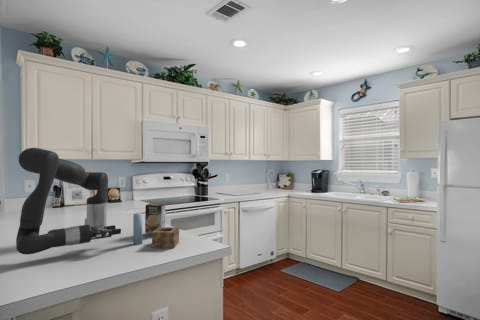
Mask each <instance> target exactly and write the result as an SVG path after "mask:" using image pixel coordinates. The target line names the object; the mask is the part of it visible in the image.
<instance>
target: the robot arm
mask: <svg viewBox="0 0 480 320" xmlns="http://www.w3.org/2000/svg"><path fill="white" fill-rule="evenodd" d="M18 165H19V166H20V167H21V168H22V169H23V170H25V171H26V172H29V173H33V174H37V175H39V176H38V177H39V178H38V183H37V184H36V187H34V190H33V191H32V192H31V193H30V194H29V195H28V196H27V198H26V199H25V200H24V202H23V203H22V207H21V211H20V212H21V213H20V216H19V217H20V219H19V227H18V230H17V235H16V238H15V239H16V240H15V241H16V242H15V243H16V247H15V248H16V250H17V252H18V253H19V254H21V255H33V254H38V253H41V252H43V251H47V250H49V249H52V248H59V247H64V246H76V245H82V244H89V243H90V242H91V240H92V239H96V240H98V239H99V240H101V239H105V238H112V236H115V235H121V234H122V229H121V228H116V225H115V224H114V225H107V200H108V189H109V176H108V174H107V173H106V172H103V171H102V172H100V171H96V172H95V171H92V172H91V171H89V172H88V171H86V170H85V168H84V166H82V165H80V164H79V163H76V162H74V161H71V160H67V159H63V158H60V157H59V155H58V154H57V153H56V152H55V151H52V150H48V149H45V148H39V147H28V148H26V149H24V150H22V151H21V153H19V155H18ZM55 179H56V180H59V181H61V182H64V183H66V184H67V183H68V184H71V185H77V186H79V187H81V188H83V189H85V190H89V191H96V193H95V194H94V195H92V196H90V197H87V198H86V218H85V219H84V224H82V225H73V226H68V227H63V228H56V229H50V230H48V232H47V233H43V234H40V228H41V226H42V225H43V220H44V215H45V208H46V204H47V200H48V197H49V194H50V192H51V188H52V186H53V184H54V180H55Z"/></svg>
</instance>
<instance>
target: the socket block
mask: <svg viewBox="0 0 480 320" xmlns="http://www.w3.org/2000/svg"><path fill="white" fill-rule="evenodd" d="M179 243H180V226H178V227H177V226H175V227H174V226H172V227H171V226H169V227H166V226H165V227H158V228H157V229H156V230H154V231H153V232H152V236H151V248H152V249H174V248H176V247H177V245H178V244H179Z"/></svg>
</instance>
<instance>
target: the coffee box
mask: <svg viewBox="0 0 480 320" xmlns="http://www.w3.org/2000/svg"><path fill="white" fill-rule="evenodd" d="M144 211H145V213H144V214H145V216H144V218H145V220H144V221H145V222H144V225H145V226H144V236H149V237H150V236H151V237H152V232H153V231H154V230H156V229H157V228H158V227H166V204H165V203H147V204H146V205H145V210H144Z"/></svg>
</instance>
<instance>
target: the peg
mask: <svg viewBox="0 0 480 320" xmlns="http://www.w3.org/2000/svg"><path fill="white" fill-rule="evenodd" d="M132 219H133V221H132V222H133V223H132V224H133V225H132V226H133V227H132V228H133V229H132V230H133V231H132V232H133V235H132V237H133V239H132V244H133V245H136V246H137V245H141V244H143V213H141V212H138V213H137V212H136V213H133V217H132Z"/></svg>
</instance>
